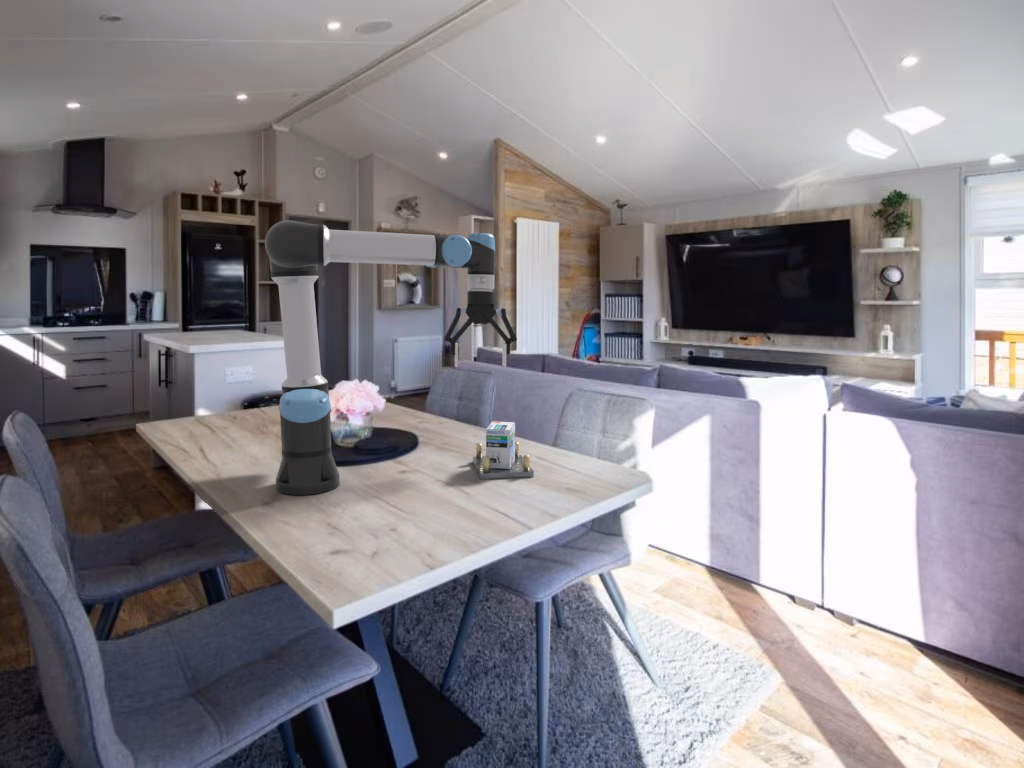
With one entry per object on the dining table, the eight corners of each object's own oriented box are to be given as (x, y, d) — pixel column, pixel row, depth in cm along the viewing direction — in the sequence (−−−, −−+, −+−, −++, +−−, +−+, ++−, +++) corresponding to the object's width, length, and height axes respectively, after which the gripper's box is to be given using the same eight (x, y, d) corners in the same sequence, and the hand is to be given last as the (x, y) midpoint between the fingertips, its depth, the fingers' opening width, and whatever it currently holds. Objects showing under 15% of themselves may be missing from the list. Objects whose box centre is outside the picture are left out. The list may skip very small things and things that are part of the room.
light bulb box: (510, 469, 167) (510, 429, 166) (485, 468, 168) (485, 429, 167) (515, 459, 178) (515, 421, 176) (491, 458, 179) (491, 420, 177)
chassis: (480, 479, 164) (480, 458, 163) (472, 461, 180) (472, 442, 179) (533, 476, 166) (533, 456, 166) (520, 459, 183) (520, 441, 182)
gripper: (436, 289, 170) (436, 368, 173) (527, 291, 174) (526, 367, 177) (435, 289, 177) (435, 364, 181) (522, 291, 181) (521, 364, 184)
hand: (480, 366), depth 179 cm, fingers open, 13 cm apart
